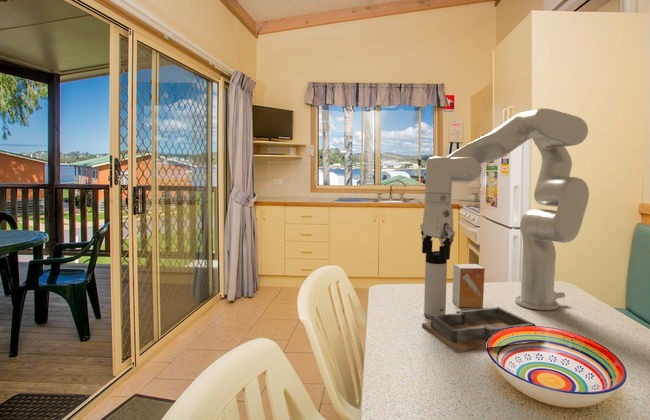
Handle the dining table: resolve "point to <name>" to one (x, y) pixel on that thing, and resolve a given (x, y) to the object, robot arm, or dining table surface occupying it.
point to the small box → (468, 285)
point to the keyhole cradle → (472, 327)
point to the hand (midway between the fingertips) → (435, 256)
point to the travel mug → (435, 285)
